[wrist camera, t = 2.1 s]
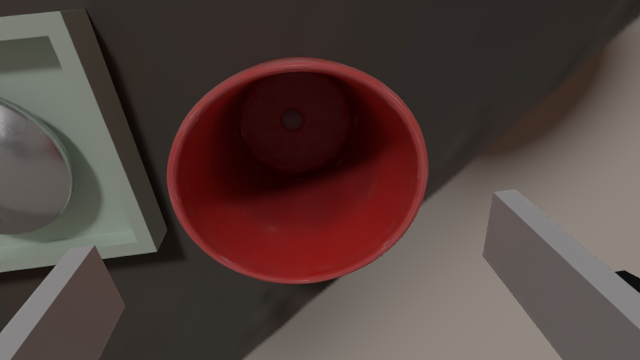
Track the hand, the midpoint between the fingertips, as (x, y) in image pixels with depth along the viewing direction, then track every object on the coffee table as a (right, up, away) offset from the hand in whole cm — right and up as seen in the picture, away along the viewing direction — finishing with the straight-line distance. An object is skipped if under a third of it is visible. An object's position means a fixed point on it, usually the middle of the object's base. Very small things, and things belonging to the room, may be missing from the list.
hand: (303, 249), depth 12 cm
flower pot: (-1, +7, +11) cm, 13 cm away
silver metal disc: (-19, +3, +9) cm, 21 cm away
